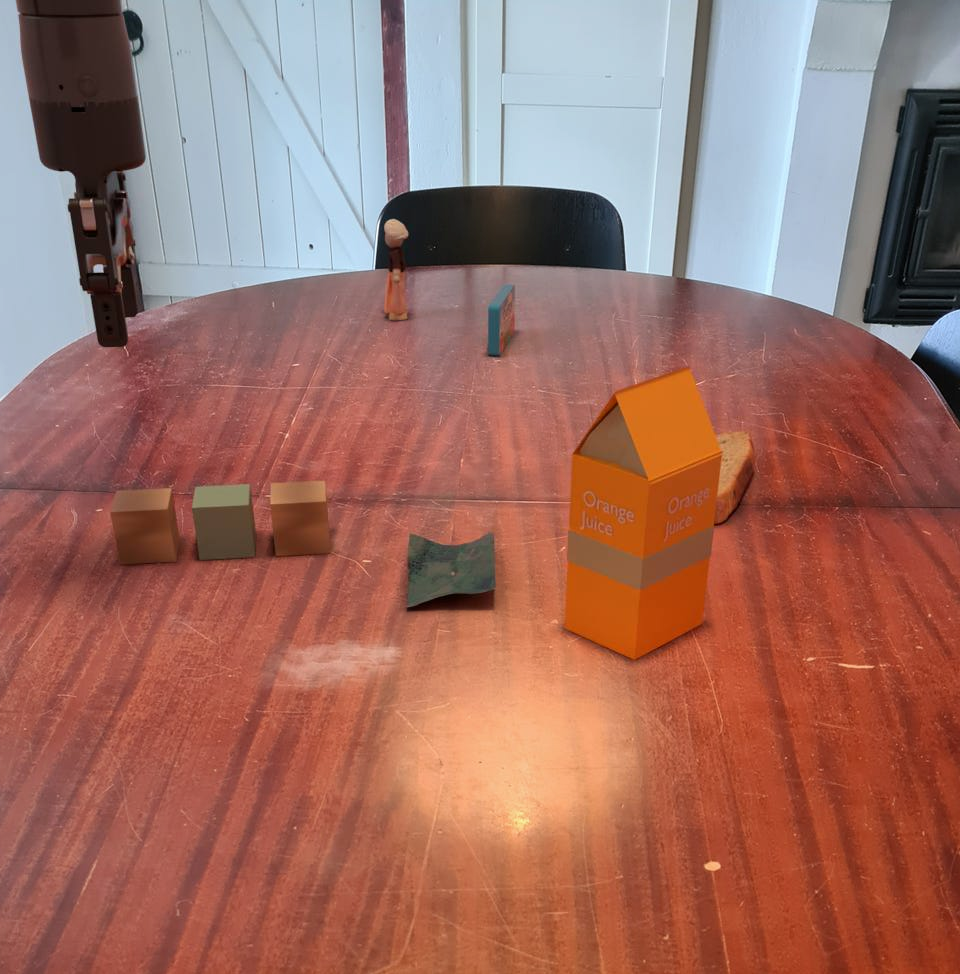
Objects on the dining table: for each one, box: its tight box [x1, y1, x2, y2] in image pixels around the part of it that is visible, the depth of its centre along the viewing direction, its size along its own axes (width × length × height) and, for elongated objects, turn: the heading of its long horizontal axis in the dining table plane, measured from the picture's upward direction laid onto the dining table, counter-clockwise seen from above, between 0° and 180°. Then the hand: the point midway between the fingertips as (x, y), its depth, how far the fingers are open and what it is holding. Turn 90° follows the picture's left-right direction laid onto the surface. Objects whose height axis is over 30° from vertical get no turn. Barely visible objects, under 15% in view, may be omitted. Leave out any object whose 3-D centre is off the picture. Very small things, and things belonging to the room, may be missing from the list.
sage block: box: [191, 483, 257, 561], centre depth 113 cm, size 5×5×5 cm
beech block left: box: [109, 487, 181, 566], centre depth 112 cm, size 5×5×5 cm
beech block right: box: [269, 480, 332, 557], centre depth 114 cm, size 5×5×5 cm
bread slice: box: [714, 429, 757, 525], centre depth 126 cm, size 18×18×4 cm
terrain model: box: [406, 531, 497, 608], centre depth 109 cm, size 13×8×2 cm, turn 0°
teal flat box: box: [487, 283, 516, 357], centre depth 164 cm, size 12×2×6 cm, turn 169°
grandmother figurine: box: [383, 218, 409, 321], centre depth 173 cm, size 8×4×13 cm, turn 10°
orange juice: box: [564, 365, 723, 661], centre depth 96 cm, size 8×9×20 cm
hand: (119, 330), depth 97 cm, fingers open, 8 cm apart
